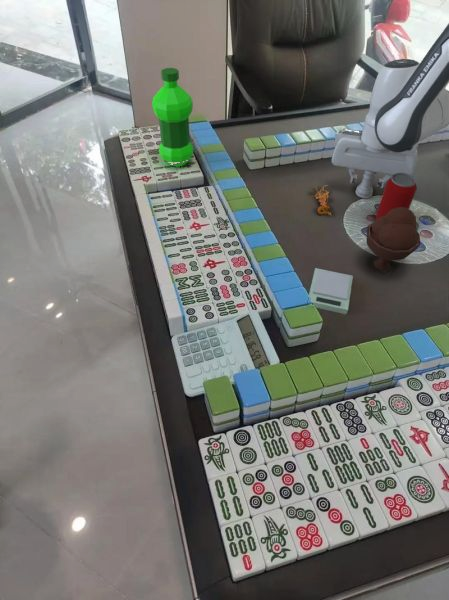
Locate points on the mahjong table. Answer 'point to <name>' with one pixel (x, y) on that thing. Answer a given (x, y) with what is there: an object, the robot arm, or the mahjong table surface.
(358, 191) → the rook chess piece
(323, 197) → the dragon
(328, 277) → the scale
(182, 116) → the plastic bottle
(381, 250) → the ice cream bowl
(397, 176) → the beverage can
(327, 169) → the mahjong table surface
